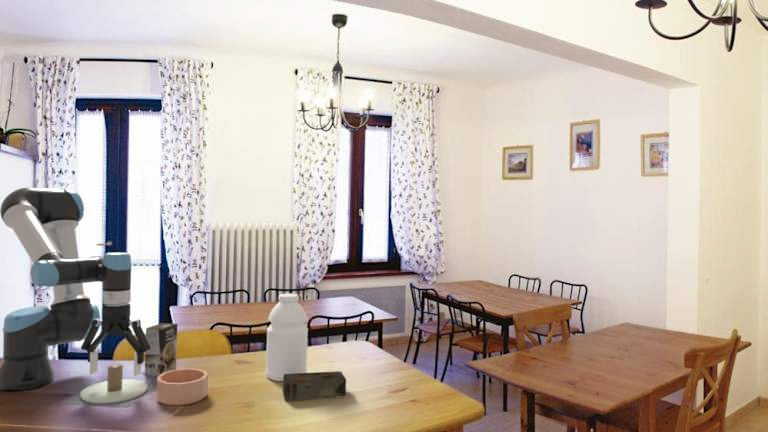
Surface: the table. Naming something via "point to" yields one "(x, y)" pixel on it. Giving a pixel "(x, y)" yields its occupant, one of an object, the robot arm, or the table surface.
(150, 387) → the mat
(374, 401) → the table surface
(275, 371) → the bottle
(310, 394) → the beverage carton
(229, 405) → the table surface
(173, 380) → the bowl
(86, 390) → the lid
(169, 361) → the coffee box
